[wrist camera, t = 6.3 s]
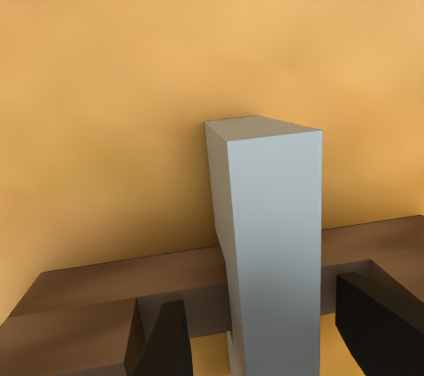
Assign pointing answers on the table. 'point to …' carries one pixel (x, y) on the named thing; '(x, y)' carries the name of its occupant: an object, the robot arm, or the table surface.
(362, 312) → the robot arm
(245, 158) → the pale blue-gray block
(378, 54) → the table surface
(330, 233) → the walnut u-shaped block
